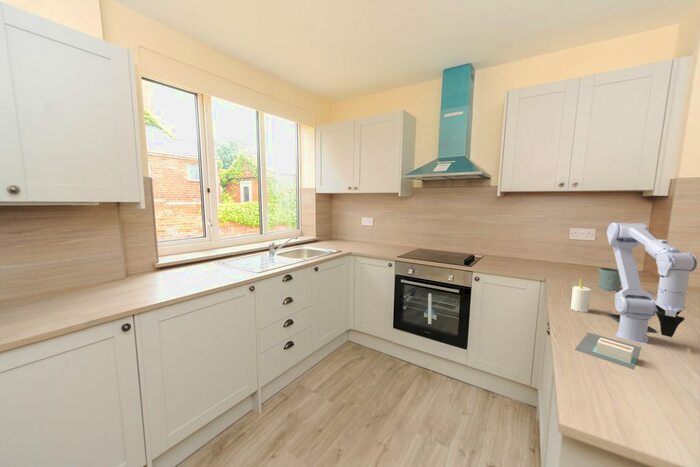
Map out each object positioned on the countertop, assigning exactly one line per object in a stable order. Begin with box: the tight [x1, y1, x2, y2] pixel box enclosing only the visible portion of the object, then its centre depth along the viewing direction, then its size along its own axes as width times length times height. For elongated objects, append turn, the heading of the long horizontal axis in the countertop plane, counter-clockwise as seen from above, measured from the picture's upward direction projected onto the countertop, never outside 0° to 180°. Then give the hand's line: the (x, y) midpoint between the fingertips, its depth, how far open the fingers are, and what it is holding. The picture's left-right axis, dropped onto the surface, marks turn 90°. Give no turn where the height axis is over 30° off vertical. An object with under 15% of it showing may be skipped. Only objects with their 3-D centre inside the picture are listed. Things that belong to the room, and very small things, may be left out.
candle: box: [570, 278, 591, 313], centre depth 127 cm, size 6×6×15 cm
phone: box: [607, 313, 657, 333], centre depth 114 cm, size 8×1×15 cm
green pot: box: [598, 267, 622, 292], centre depth 158 cm, size 10×10×12 cm
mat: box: [574, 332, 642, 370], centre depth 93 cm, size 20×14×1 cm
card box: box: [596, 338, 634, 363], centre depth 89 cm, size 8×5×4 cm, turn 38°
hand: (666, 331), depth 86 cm, fingers open, 7 cm apart
